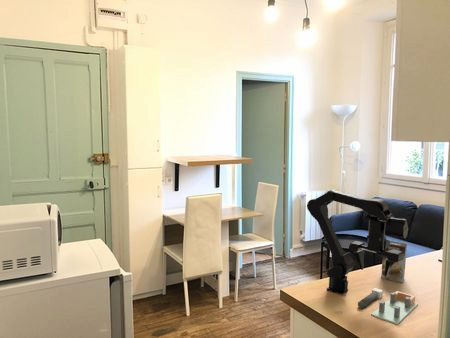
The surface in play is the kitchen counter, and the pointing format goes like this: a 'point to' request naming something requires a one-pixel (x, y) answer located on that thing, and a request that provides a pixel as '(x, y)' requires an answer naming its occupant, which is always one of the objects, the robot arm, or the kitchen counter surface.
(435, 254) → the kitchen counter surface
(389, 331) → the kitchen counter surface
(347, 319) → the kitchen counter surface
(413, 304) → the clip board
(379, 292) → the rod
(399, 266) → the coffee box
